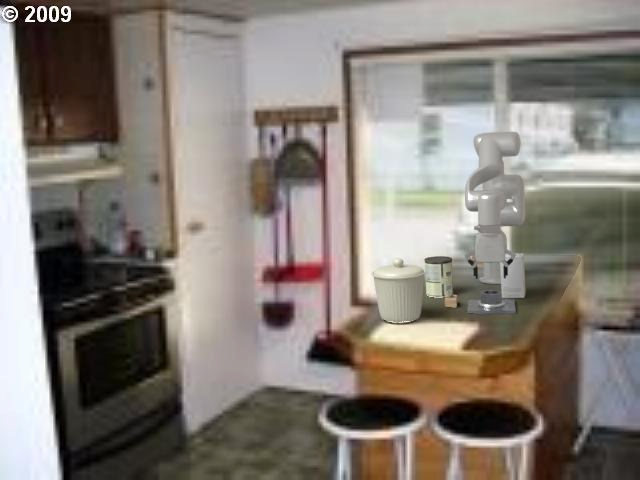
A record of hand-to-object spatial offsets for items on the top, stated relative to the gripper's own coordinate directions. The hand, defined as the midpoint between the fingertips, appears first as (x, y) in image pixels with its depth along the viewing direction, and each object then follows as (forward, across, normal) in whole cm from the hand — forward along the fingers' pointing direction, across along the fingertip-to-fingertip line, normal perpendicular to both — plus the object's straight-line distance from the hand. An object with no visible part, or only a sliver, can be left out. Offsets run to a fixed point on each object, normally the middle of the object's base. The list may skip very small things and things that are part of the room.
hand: (490, 277), depth 274 cm
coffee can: (+11, -19, +20) cm, 29 cm away
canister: (+11, -30, -16) cm, 36 cm away
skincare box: (+11, +8, +17) cm, 21 cm away
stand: (+11, -14, +4) cm, 18 cm away
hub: (+11, 0, 0) cm, 11 cm away
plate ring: (+9, 0, 0) cm, 9 cm away
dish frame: (+12, +2, +80) cm, 80 cm away
